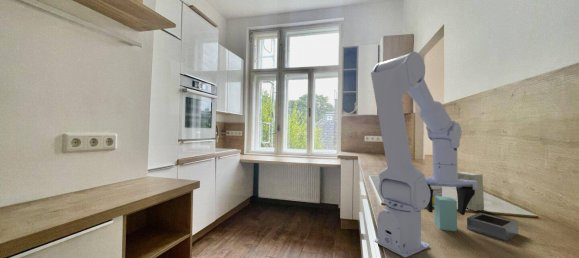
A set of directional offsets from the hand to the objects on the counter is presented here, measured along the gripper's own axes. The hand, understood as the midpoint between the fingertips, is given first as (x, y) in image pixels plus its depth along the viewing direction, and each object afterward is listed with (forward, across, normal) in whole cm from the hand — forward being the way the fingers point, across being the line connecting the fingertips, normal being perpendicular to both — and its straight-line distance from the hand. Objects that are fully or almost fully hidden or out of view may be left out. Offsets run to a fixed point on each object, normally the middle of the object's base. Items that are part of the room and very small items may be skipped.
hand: (445, 212), depth 62 cm
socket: (+4, -11, 0) cm, 12 cm away
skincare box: (+4, -15, -20) cm, 26 cm away
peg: (+4, 0, 0) cm, 4 cm away
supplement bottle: (+4, -4, -20) cm, 21 cm away
